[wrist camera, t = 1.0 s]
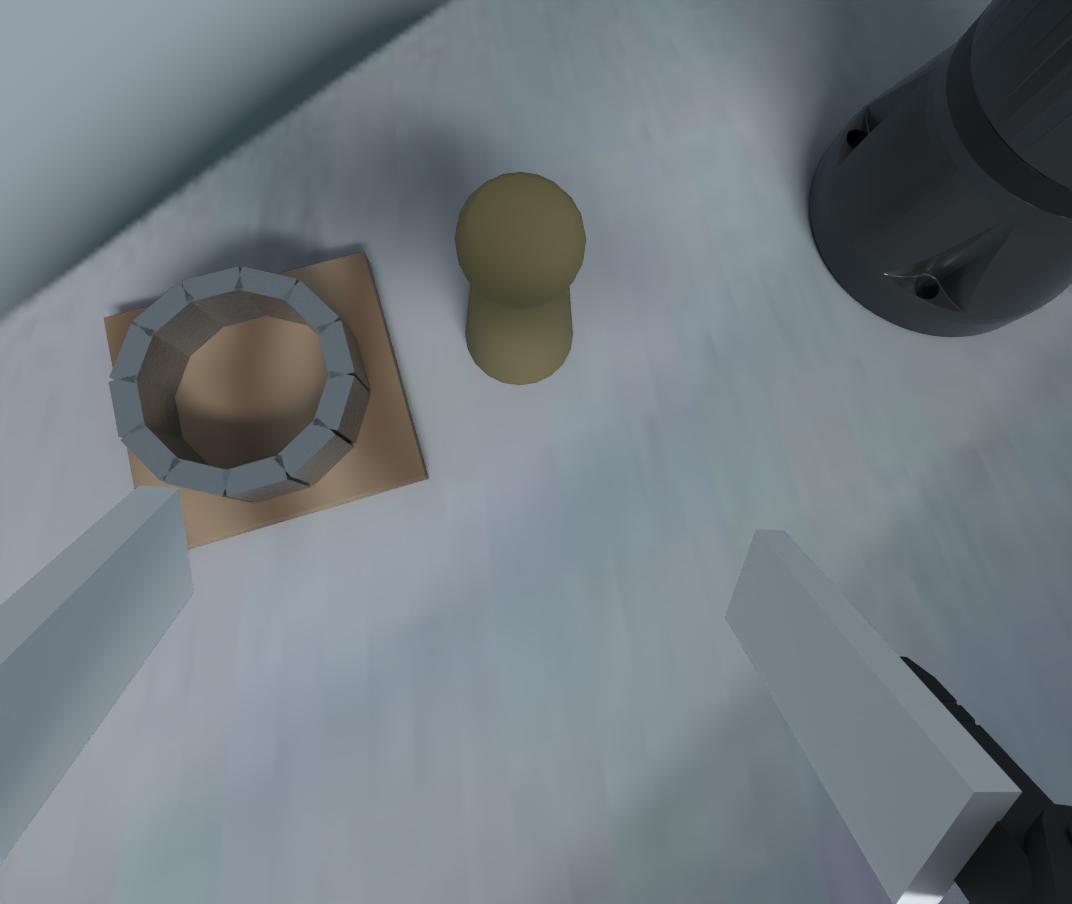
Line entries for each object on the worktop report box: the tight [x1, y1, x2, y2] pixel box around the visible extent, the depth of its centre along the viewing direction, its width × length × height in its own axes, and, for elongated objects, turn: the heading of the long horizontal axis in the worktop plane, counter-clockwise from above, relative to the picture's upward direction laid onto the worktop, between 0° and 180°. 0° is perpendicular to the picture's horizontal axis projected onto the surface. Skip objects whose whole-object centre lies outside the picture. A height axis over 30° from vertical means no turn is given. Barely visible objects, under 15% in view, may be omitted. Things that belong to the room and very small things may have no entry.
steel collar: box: [109, 266, 371, 503], centre depth 27 cm, size 11×11×3 cm
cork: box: [455, 172, 586, 385], centre depth 26 cm, size 6×6×11 cm
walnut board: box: [104, 252, 429, 549], centre depth 30 cm, size 14×13×1 cm
